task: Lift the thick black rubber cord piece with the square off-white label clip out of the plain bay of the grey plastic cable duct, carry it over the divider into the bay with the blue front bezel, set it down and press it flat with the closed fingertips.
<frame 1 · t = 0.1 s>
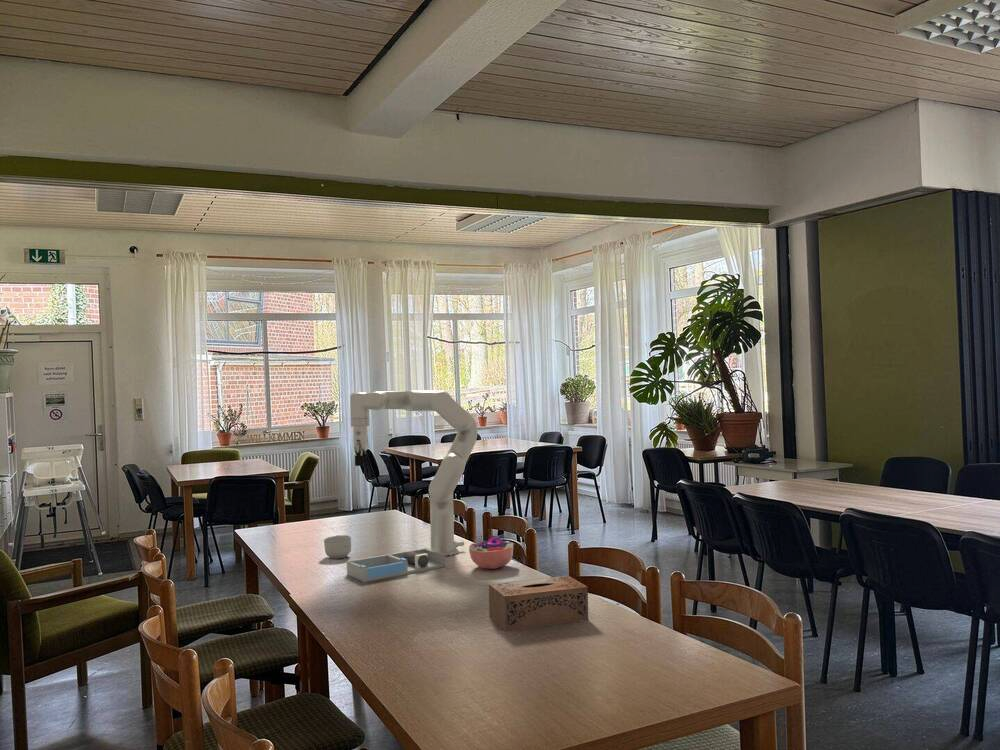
hand: (360, 464, 326), 37 cm above the table, tool pointing down, fingers open, 9 cm apart
cell model: (491, 568, 300), on the table
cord: (416, 559, 303), point 3 cm above the table, touching duct
tissue box cover: (538, 619, 236), on the table
teacup: (338, 556, 325), on the table
duct: (397, 570, 298), on the table
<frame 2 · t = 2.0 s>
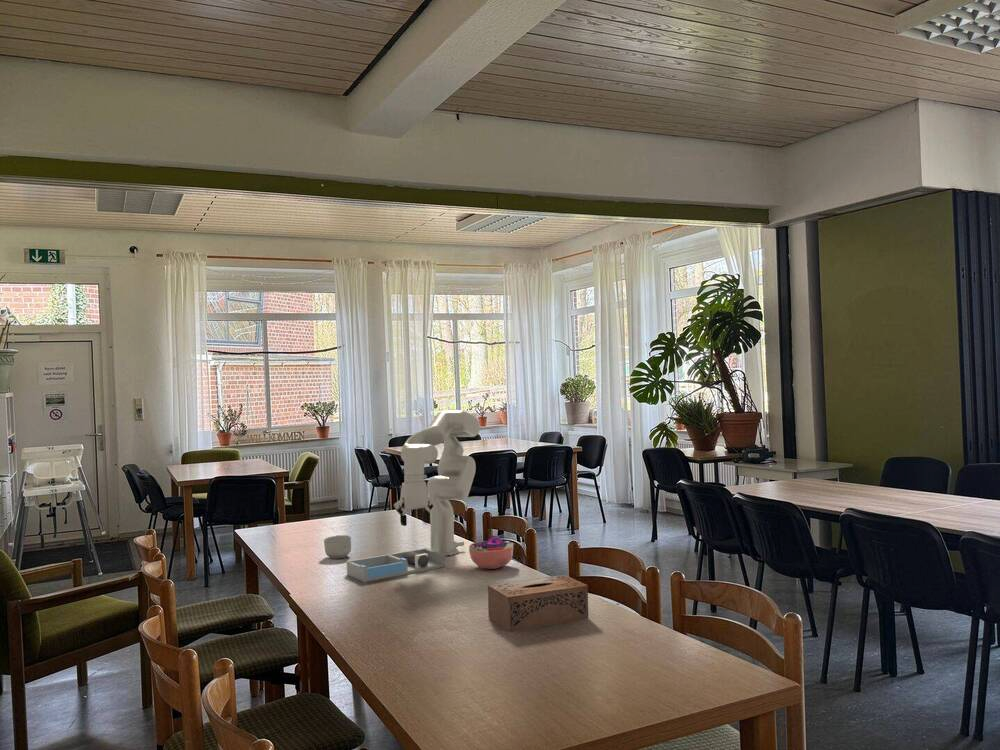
hand: (415, 523, 303), 17 cm above the table, tool pointing down, fingers open, 9 cm apart
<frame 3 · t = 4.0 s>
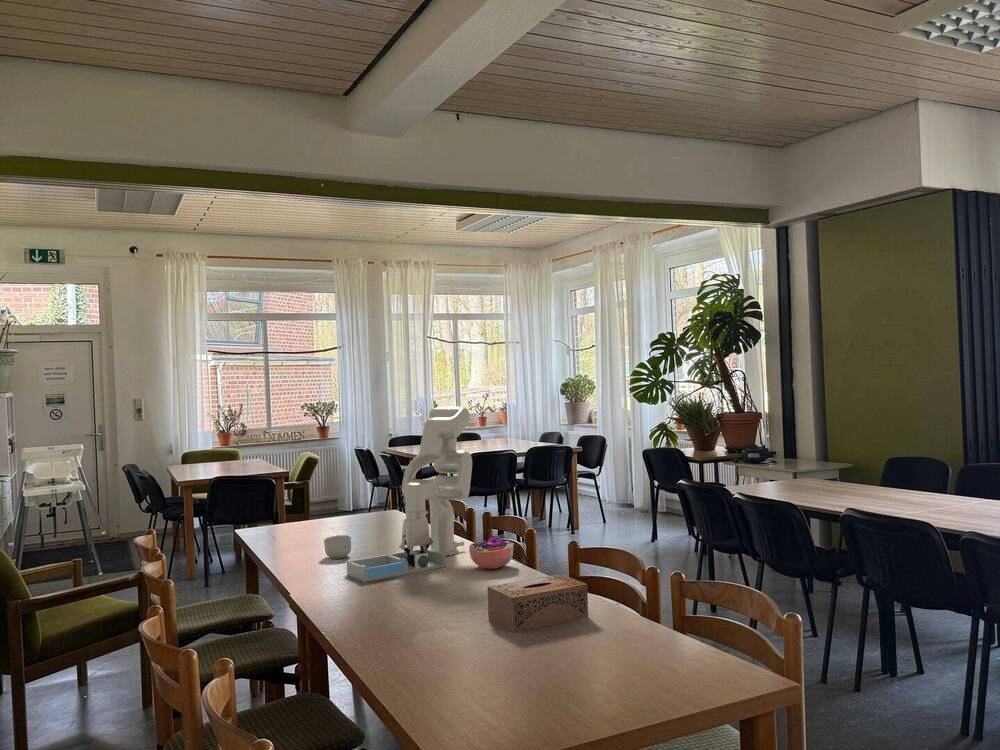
hand: (416, 562, 303), 2 cm above the table, tool pointing down, fingers closed on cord, 4 cm apart
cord: (416, 559, 303), point 3 cm above the table, touching duct, gripper
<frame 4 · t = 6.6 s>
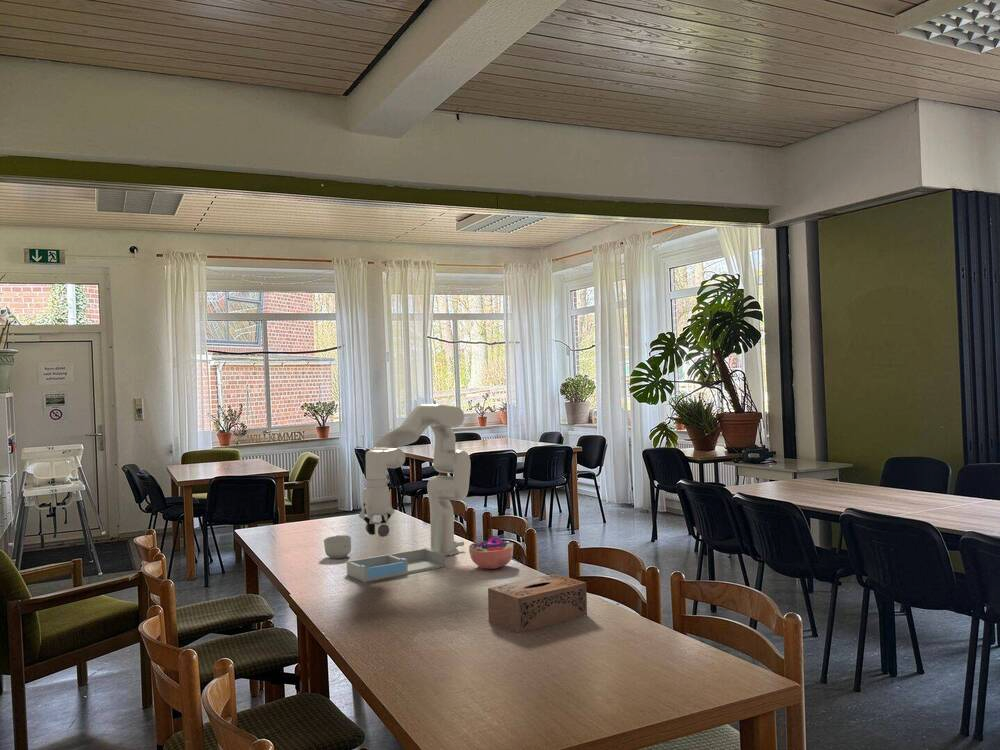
hand: (377, 532, 293), 15 cm above the table, tool pointing down, fingers closed on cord, 4 cm apart
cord: (377, 528, 293), point 17 cm above the table, touching gripper
when the fingers open (3 cm above the table, at t = 9.2 s): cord stays where it is, resting on duct.
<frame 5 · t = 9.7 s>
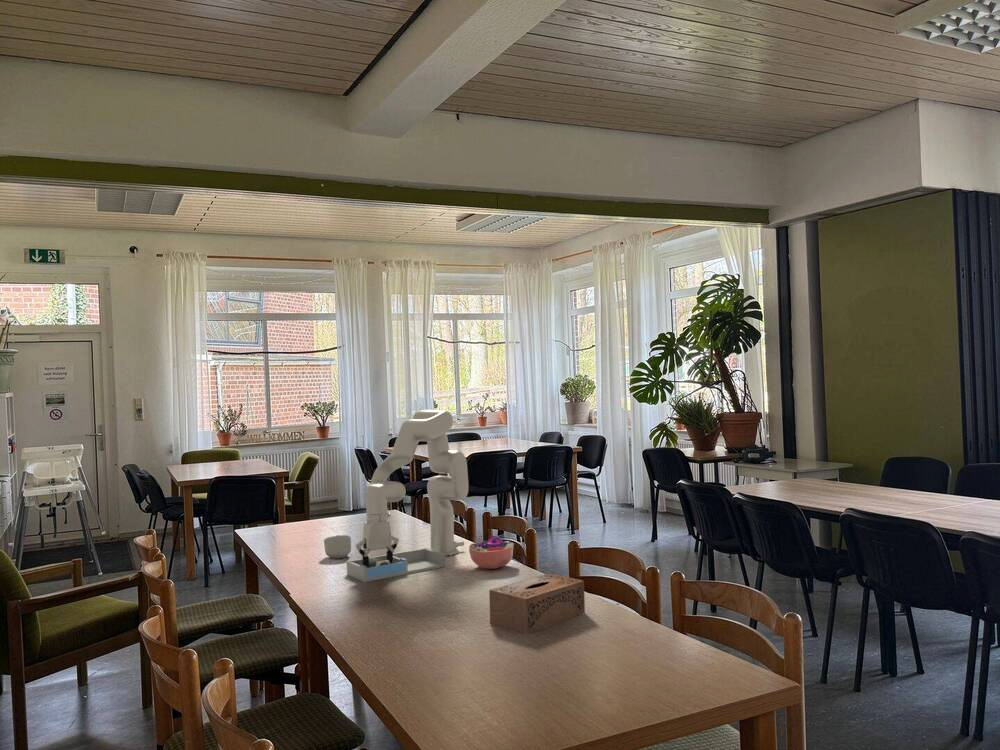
hand: (377, 564, 293), 4 cm above the table, tool pointing down, fingers open, 9 cm apart
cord: (378, 565, 293), point 3 cm above the table, touching duct
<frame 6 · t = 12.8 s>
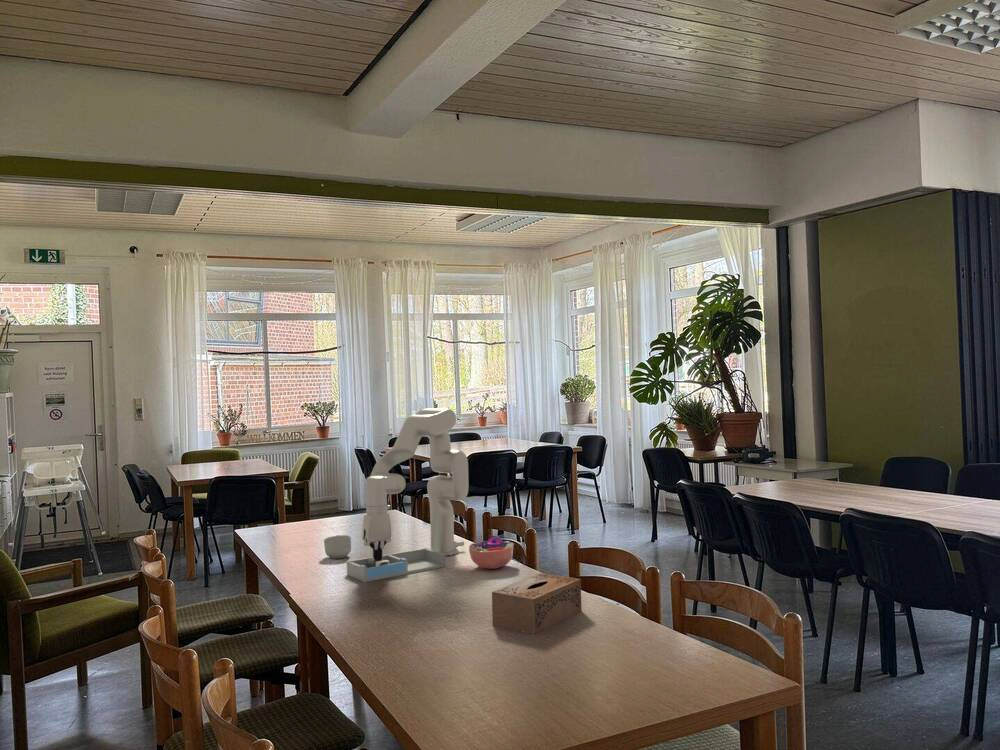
hand: (377, 559, 293), 5 cm above the table, tool pointing down, fingers closed
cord: (378, 565, 293), point 3 cm above the table, touching duct, gripper
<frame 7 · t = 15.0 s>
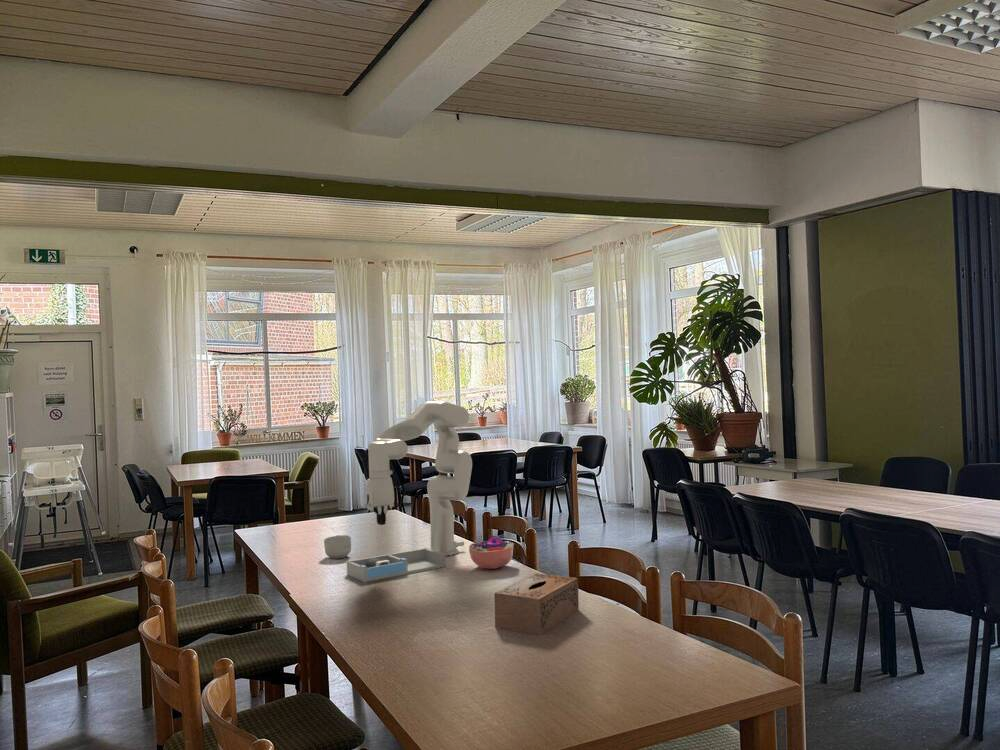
hand: (381, 524, 296), 18 cm above the table, tool pointing down, fingers closed
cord: (378, 565, 293), point 3 cm above the table, touching duct
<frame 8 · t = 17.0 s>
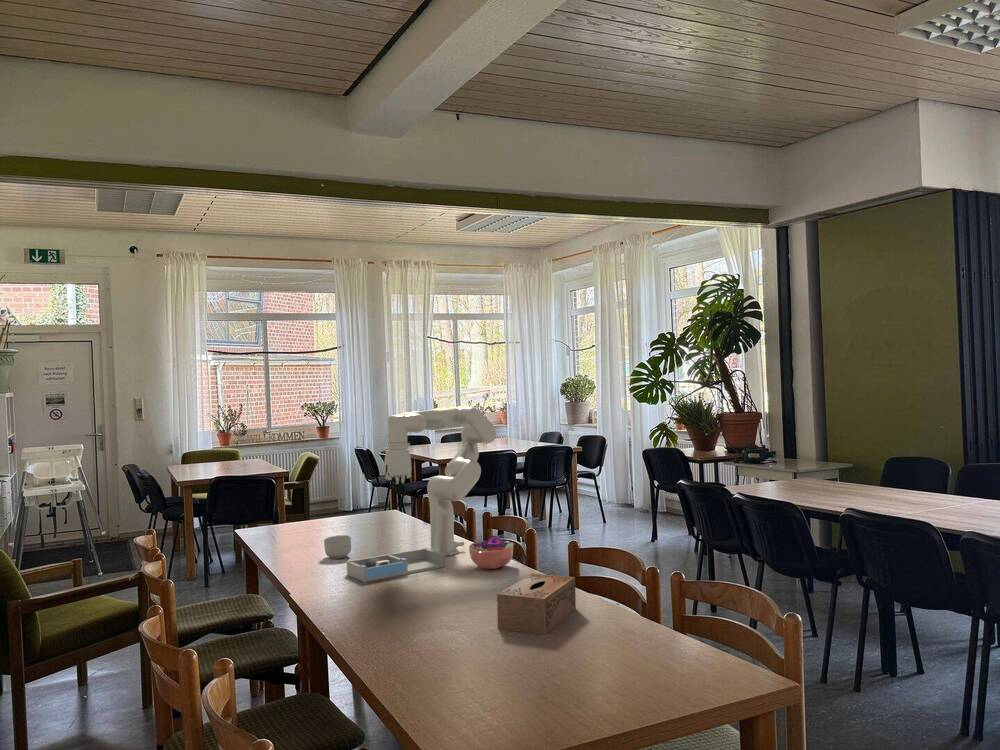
hand: (398, 493, 311), 27 cm above the table, tool pointing down, fingers closed
at the end: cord inside the target area on the duct (0.1 cm from its centre), point 3.2 cm above the duct's base; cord touching duct; the gripper is holding nothing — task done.
